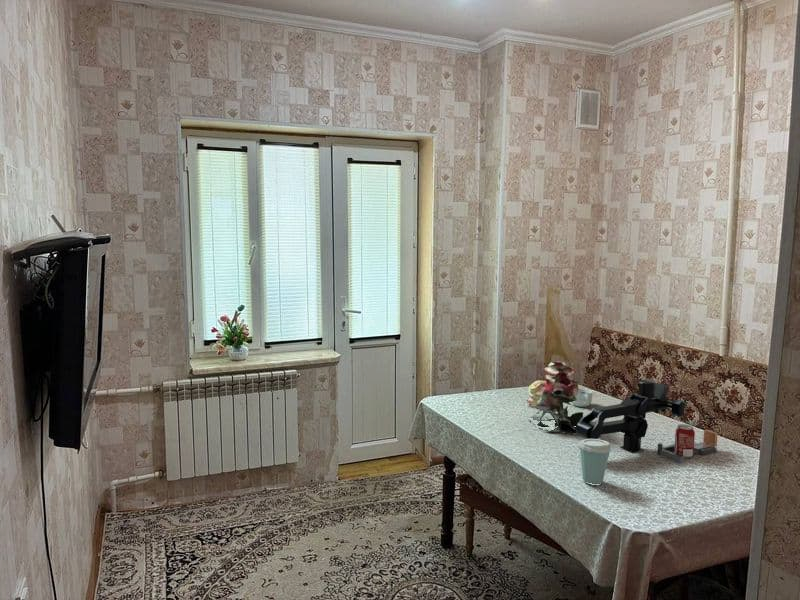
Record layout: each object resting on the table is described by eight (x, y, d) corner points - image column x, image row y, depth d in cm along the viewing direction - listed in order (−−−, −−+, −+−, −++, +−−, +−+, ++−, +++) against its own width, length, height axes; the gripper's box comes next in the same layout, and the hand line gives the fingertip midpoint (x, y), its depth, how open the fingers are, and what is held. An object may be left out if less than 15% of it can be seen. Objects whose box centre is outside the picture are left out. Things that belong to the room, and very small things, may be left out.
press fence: (680, 463, 220) (681, 452, 220) (657, 454, 230) (657, 443, 229) (702, 458, 226) (703, 447, 225) (679, 449, 235) (679, 438, 235)
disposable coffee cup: (571, 478, 207) (572, 438, 205) (594, 473, 211) (596, 434, 209) (592, 490, 197) (594, 448, 195) (616, 485, 201) (618, 443, 200)
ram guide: (702, 455, 229) (702, 450, 228) (689, 450, 234) (689, 445, 234) (715, 452, 232) (716, 447, 232) (702, 447, 237) (702, 442, 237)
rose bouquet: (577, 416, 278) (579, 355, 275) (591, 437, 249) (593, 369, 246) (522, 414, 280) (524, 353, 277) (530, 435, 252) (532, 367, 248)
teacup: (568, 402, 301) (569, 387, 301) (590, 402, 300) (590, 387, 299) (572, 410, 288) (573, 394, 287) (595, 411, 286) (596, 395, 285)
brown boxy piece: (699, 454, 229) (700, 437, 228) (688, 450, 233) (689, 433, 232) (716, 450, 233) (717, 433, 232) (705, 446, 237) (706, 429, 236)
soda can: (695, 459, 224) (697, 429, 223) (676, 458, 226) (678, 428, 224) (690, 453, 231) (692, 424, 229) (672, 452, 232) (673, 423, 231)
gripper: (672, 392, 228) (699, 388, 235) (634, 380, 245) (660, 377, 251) (669, 419, 229) (696, 415, 236) (632, 405, 246) (658, 402, 253)
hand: (677, 401), depth 244 cm, fingers open, 9 cm apart
